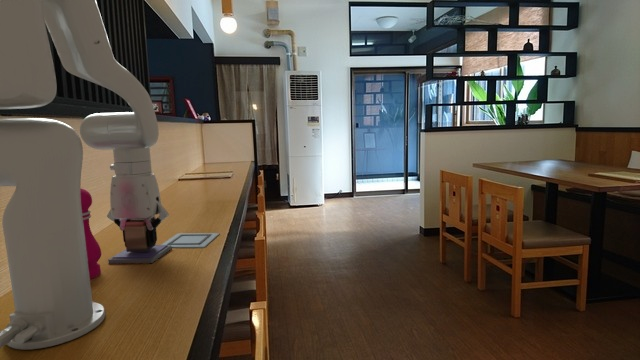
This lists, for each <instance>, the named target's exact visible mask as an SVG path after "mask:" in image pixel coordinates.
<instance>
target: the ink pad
mask: <svg viewBox="0 0 640 360" xmlns="http://www.w3.org/2000/svg"><path fill="white" fill-rule="evenodd" d="M169 250H170V251H171V250H172V248H171V245H161V244H155V246H154V247H152V248H151V249H149V250H148V251H146V252H127V250H126V248H125V249H124V250H122V251H120V252H119V253H117V254H115V255H114V256H112V257H110V258H109V259H107V262H108V264H109V265H110V264H111V265H115V264H116V265H118V264H119V263H120V264H121V263H152V264H154V261H155V260H156V261H157V260H158V258H159V259H160V258H162V257H163V256H164V255H166V254H167V253H168V252H170V251H169ZM166 252H167V253H166ZM165 253H166V254H165ZM162 255H163V256H162ZM156 261H155V262H156ZM120 264H119V265H120Z"/></svg>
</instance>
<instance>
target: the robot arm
mask: <svg viewBox="0 0 640 360" xmlns="http://www.w3.org/2000/svg"><path fill="white" fill-rule="evenodd" d="M103 21H104V20H103V19H102V16H101V12H100V9H99V6H98V2H97V0H0V110H17V109H19V110H21V109H34V108H41V107H44V106H46V105H48V104H50V103H52V102H53V101H54V99H55V97H56V95H57V85H58V84H57V78H56V71H55V66H54V62H53V55H52V51H51V46H50V41H49V36H48V32H49V35H50V37H51V39H52V42H53V44H54V47H55V49H56V52H57V55H58V57H59V60H60V62H61V65H62V66H63V68H64V69H65V71H66V72H68V73H69V74H71V75H74V76H76V77H78V78H80V79H83V80H85V81H89V82H91V83H94V84H96V85H98V86H101V87H103V88H106V89H107V90H109V91H112V92H113V93H115V94H116V95H118V96H119V97H121V98H122V99H123V101H125V102H126V103H127V104H128V106H130V109H131V111H132V112H131V111H130V112H129V111H125V112H122V111H121V112H100V113H98V112H96V113H93V114H89V115H87V116H86V117H85V118H84V119H83V120H82V122H81V123H80V126H79V134H78V132H77V131H76V130H75V129H74V128H73V127H72V126H70V125H68V124H66V123H64V122H62V121H59V120H55V119H50V118H41V117H40V118H39V117H38V118H37V117H35V118H34V117H32V118H31V117H28V118H27V117H26V118H25V117H24V118H21V117H20V118H1V119H0V187H15V190H14V192H13V193H12V196H11V197H10V199H9V201H8V202H7V203H6V206H5V209H4V211H3V215H2V218H1V219H2V230H3V231H2V232H3V235H4V243H5V251H6V256H7V263H8V269H9V271H8V272H9V277H10V283H11V284H10V285H11V290H12V291H11V292H12V298H13V305H14V312H12V313H10V314H9V321H10V322H9V323H7V324H6V326H5V328H4V329H1V330H0V349H1V348H3V347H5V346H6V345H7V346H8V347H9V348H12V349H15V350H21V351H22V350H38V349H44V348H49V347H53V346H57V345H62V344H64V343H67V342H69V341H73V340H75V339H77V338H80V337H82V336H83V335H85V334H88V333H90V332H91V331H93V330H94V329H96V328H97V327H98V326H99V325H100V324H101V323H102V322H103V321H104V319H105V317H106V309H105V306H103V304H101V303H98V302H95V301H93V297H92V295H93V294H92V288H91V279H90V277H89V268H88V259H87V251H86V242H85V233H84V225H83V217H82V207H81V191H80V188H81V184H82V183H81V182H82V181H81V180H82V179H81V178H82V168H83V159H84V158H83V157H84V150H83V148H84V147H83V143H82V141H83V142H84V144H85V145H87V146H88V147H90V148H92V149H95V150H101V151H103V150H105V151H107V150H112V151H113V153H112V154H113V161H114V162H113V163H112V164H110V166H109V169H110V170H111V171H114V173H115V175H113V176H111V181H110V182H111V183H110V195H109V198H110V199H109V200H110V201H109V203H110V210H109V211H108V213H107V215H106V218H108V219H109V220H110V221H112V222H114V224H116V225H117V227H118V228H119V230H120V231H122V236H123V238H122V239H123V243H124V247H125V248H126V240H125V230H124V227H125V226H126V222H127V221H130V220H132V219H145V222H146V225H147V228H148V230H147V231H146V240H147V246H148V247H151V246H153V245H154V244H155V245H157V241H158V235H157V233H158V232H157V228H158V227H159V225H160V224H161V223H162V222H163V221H164V220H165V219H167V218H168V217H169V216H170V214H169V212H168V211H167V210H166V208H165V207H164V206H163V204H162V199H161V193H160V188H159V184H158V182H157V180H158V179H157V178H156V175H155V173H153V172H152V161H151V158H152V157H151V149H150V148H151V147H153V146H154V145H155V144H156V143H157V142H158V139H159V134H160V133H159V124H158V119H157V116H156V113H155V108H154V105H153V101H152V98H151V96H150V94H149V93H148V91H147V89H146V88H145V86H143V84H142V83H141V82H140V80H138V79H137V78H136V76H135V75H134V74H133V73H132V72H130V71H129V70H127V68H125V67H124V66H123V65H121V64H120V63H119V62H118V61H117V60H116V59H115V57H114V54H113V51H112V47H111V44H110V41H109V38H108V34H107V31H106V28H105V25H104V22H103ZM47 30H48V31H47ZM81 139H82V140H81ZM156 215H159V216H157V217H156Z"/></svg>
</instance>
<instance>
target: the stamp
mask: <svg viewBox="0 0 640 360" xmlns="http://www.w3.org/2000/svg"><path fill="white" fill-rule="evenodd" d="M124 230H125V240H126V247H125V249H126V250H127V252H146V251H148V250H149V249H151V248H152V247H154V246H155V245H156V244H154V245H153V246H151V247H148V246H147V240H146V231H147V230H148V228H147V225H146V222H145V219H132V220H130V221H127V222H126V226H125V227H124Z"/></svg>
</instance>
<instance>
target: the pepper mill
mask: <svg viewBox="0 0 640 360" xmlns="http://www.w3.org/2000/svg"><path fill="white" fill-rule="evenodd" d="M80 191H81V207H82V217H83V225H84V233H85V242H86V251H87V259H88V268H89V277H90V280H91V279H94V278H96V277H98V276H99V275H101V271H102V270H101V264H100V263H98V262H99V261H100V259H101V258H102V249H101V247H100V244H99V242H98V241H97V240H96V238H95V236H94V234H93V233H92V230H91V228H90V218H91V217H92V215H91V210H89V209H90V208H91V206H92V204H93V197H92V195H91V193H90V192H89V191H88V190H86V189H84V188H81V187H80Z"/></svg>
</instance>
